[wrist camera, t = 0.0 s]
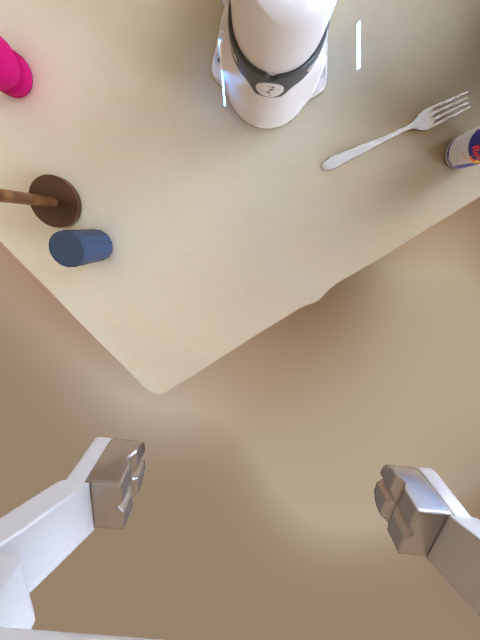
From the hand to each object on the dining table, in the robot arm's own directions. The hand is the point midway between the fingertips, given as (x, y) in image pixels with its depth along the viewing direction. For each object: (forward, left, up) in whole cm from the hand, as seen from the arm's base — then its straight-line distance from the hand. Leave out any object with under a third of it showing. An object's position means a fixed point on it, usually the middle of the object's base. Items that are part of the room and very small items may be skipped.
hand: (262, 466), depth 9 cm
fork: (-25, +22, -48) cm, 58 cm away
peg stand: (-8, -37, -48) cm, 61 cm away
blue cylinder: (-1, -30, -48) cm, 57 cm away
